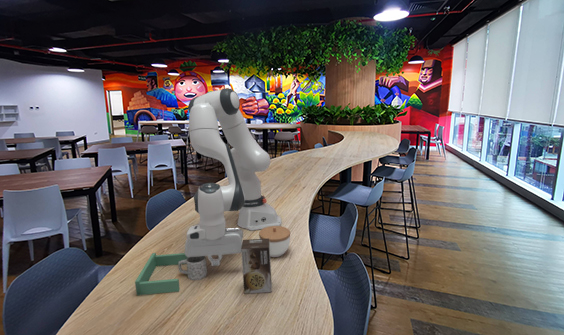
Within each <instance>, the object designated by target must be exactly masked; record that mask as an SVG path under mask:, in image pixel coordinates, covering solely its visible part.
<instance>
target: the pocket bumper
mask: <svg viewBox="0 0 564 335" xmlns="http://www.w3.org/2000/svg"><path fill="white" fill-rule="evenodd" d="M187 258H188V257H187V256H186V255H185V252H183V253H182V252H179V253H170V254H169V253H167V254H166V253H165V254H157V253H156V252H152V254H151V255H150V257H149V259H148V260H147V261H146V263H145V265H143V266H144V267H143V268H142V270H141V271H140V273H139V274H138V276H137V277H136V279H135V281H134V286H135V291H136V292H135V293H136V296H145V295H146V296H147V295H156V294H165V293H175V292H176V293H177V292H178V293H179V292H180V290H181V289H180V281H179V278H171V279H169V278H167V279H159V280H150V279H151V277H152V276H153V273H154V272H155V269H156V268H157V267H164V266H176V265H177V266H178V263H179V261H182V260H186V259H187ZM181 265H184V264H183V263H182V264H181Z"/></svg>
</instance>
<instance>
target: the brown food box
mask: <svg viewBox="0 0 564 335" xmlns="http://www.w3.org/2000/svg"><path fill="white" fill-rule="evenodd" d="M240 254H241V267H242V277H243V278H242V279H243V293H244V294H256V293H257V294H259V293H260V294H261V293H262V294H263V293H272V290H273V287H272V286H273V285H272V266H271V265H272V264H271V262H272V261H271V257H270V241H269V238H268V239H260V238H251V239H250V238H249V239H242V247H241V253H240Z"/></svg>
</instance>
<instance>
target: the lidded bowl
mask: <svg viewBox="0 0 564 335" xmlns="http://www.w3.org/2000/svg"><path fill="white" fill-rule="evenodd" d="M258 237H259V238H258V239H268V238H269V241H270V258H279V257H282V256H283V255H284V253H286V251H287V250H288V249H289V246H290V242H291V231H290V229H289V228H287V227H285V226H281V225H280V226H269V227H266V228H263V229H259V232H258Z"/></svg>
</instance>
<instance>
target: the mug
mask: <svg viewBox="0 0 564 335" xmlns="http://www.w3.org/2000/svg"><path fill="white" fill-rule="evenodd" d="M182 263H183V264H182ZM182 265H186V269H182ZM177 266H178V271H179V273H180V274H184V275H187V278H188V279H189V280H190V281H200V280H202V279H204V278H206V276H208V268H207V256H198V257H188V258H187V259H186V260H182V261H179V263H178V265H177Z"/></svg>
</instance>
